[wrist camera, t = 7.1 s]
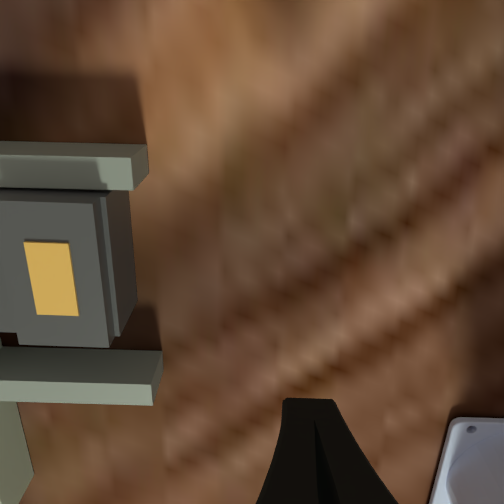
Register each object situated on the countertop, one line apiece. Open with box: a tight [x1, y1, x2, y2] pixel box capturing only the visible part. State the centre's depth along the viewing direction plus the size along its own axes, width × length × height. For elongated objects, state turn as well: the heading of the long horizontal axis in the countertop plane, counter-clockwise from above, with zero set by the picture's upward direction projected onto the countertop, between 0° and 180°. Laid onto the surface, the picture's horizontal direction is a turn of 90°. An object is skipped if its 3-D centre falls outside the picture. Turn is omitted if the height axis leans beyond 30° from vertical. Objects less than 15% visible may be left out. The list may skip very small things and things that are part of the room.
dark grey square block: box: [0, 187, 138, 348], centre depth 19 cm, size 7×6×4 cm
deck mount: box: [0, 141, 163, 504], centre depth 21 cm, size 14×19×3 cm
